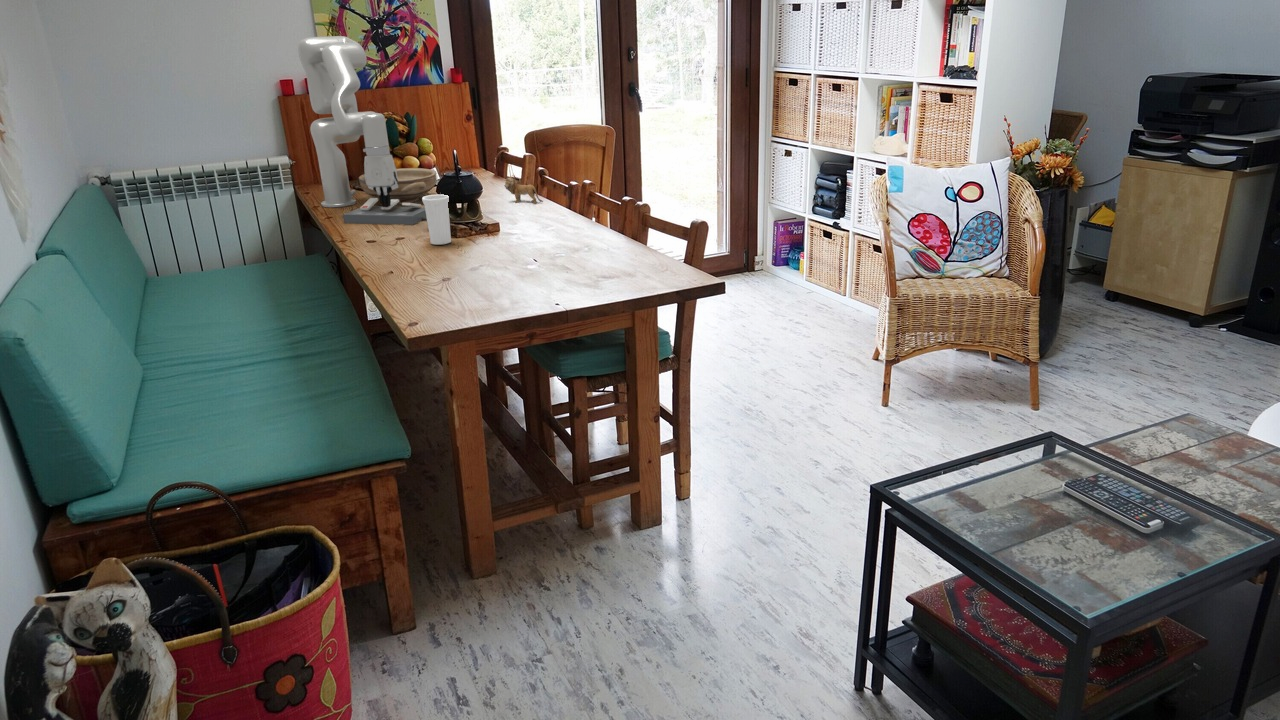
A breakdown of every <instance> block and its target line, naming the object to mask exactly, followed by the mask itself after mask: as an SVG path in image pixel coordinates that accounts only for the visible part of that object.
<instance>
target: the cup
mask: <svg viewBox="0 0 1280 720" xmlns="http://www.w3.org/2000/svg"><path fill="white" fill-rule="evenodd" d="M421 200H422V203H423V205H424V207H425V211H426V217H427V221H426V222H427V228H428V234H429V241H430V244H431V245H438V246H439V245H446V244H450V243H451V242H452V237H451V236H452V235H451V225H450V223H451V221H450V214H449V208H448V202H449V196H448V195H444V194H441V193H440V194H429V195H425V196H422V198H421Z"/></svg>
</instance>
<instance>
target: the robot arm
mask: <svg viewBox="0 0 1280 720" xmlns="http://www.w3.org/2000/svg"><path fill="white" fill-rule="evenodd" d="M297 47H298V48H297V52H298V57H299V61H300V63H301V65H302V67H303V70H304V73H305V76H306V81H307V89H308V93H309V94H308V95H309V100H310V105H311V108H312V111H313V112H314V113H315V114H318V115H331V114H332V116H331V117H323V118H322V117H321V118H318V119H315V120H314V121H312V123H310V134H311V138H312V140H313V143H314V146H315V150H316V151H315V152H316V154H317V161H318V167H319V172H320V178H321V183H322V189H323V195H324V201H321V202H320V204H321V206H322V208H343V207H349V206H353V205H355V204H356V203H357V200H356V198H353V196H355V195H356V194H357V190H356V189H351V188H350V181H349V175H348V168H347V161H346V157H345V154H344V153H343V151H342V150H341V149H340V148H339V147H338V146H337V145H339V144H340V145H341V144H348V143H354V142H357V141H358V140H359V139H360V137H361V136H363V139H364V146H365V147H363V149H362V151H363V153H365V154H366V155H365V156H364V161H363V162H364V163H363V167H364V168H363V169H364V174H365V181H366V185H368V188H369V189H372V190H375V191H376V192H377V194H378V195H379V198H380V199H379V203H380V206H381V207H388V206H390V205H391V204H390V203H391V200H390V193H391V191H392V190H394V189H397V188H398V184H397V183H398V177H397V172H396V169H397V167H396V163H395V161H394V158H393V155H392V154H391V152H390V146H389V145H390V144H389V139H388V130H387V124H386V118H385V115H384V114H383V113H379V112H375V111H372V110H371V111H370V110H369V111H359V110H358V103H357V98H356V95H355V93H356V92H357V91H358V90H359V89H360V87H361V81H360V78H359V77H358V74H357V73H356V72H357V71H356V69H362V68H365V66H366V64H367V62H368V61H367V60H368V59H367V54H366V51H365V49H364V48H363V47H362V45H361V44H360V43H359V42H357V41H355V40H353V39H351V38H349V37H347V36H343V35H335V36H334V35H333V36H331V35H329V36H310V37H306V38H305V37H304V38H303V39H300V41H299V43H298V45H297ZM391 185H392V186H391ZM383 187H384V189H383Z"/></svg>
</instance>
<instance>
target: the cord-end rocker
mask: <svg viewBox="0 0 1280 720" xmlns="http://www.w3.org/2000/svg"><path fill="white" fill-rule="evenodd" d="M401 206H404V207H422V204H421V203H415V202H412V203H402V204H401Z"/></svg>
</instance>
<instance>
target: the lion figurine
mask: <svg viewBox="0 0 1280 720" xmlns="http://www.w3.org/2000/svg"><path fill="white" fill-rule="evenodd" d="M504 181H505V182H504V183H505V184H504V186H503V187H504V188H505V190H507V191H508V192H509V193H510V194H511V195H513V196H514V197H515V201H514V203H515V204H518V203H519V202H521V199H522V198H521V196H526V195H528V196H529V198H531V199H532V200H530V202H531V203H533V204H532V205H537V203H538V202H537V200H538V201H539V202H542V203H544V200H542V199H540V198H539V195H538V192H537V189H536V187H535V186H534V185H533V184H522V183H521V182H520V181H518V180H517V179H516V178H514V177H507V178H506V179H504ZM535 196H536V197H535Z"/></svg>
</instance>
